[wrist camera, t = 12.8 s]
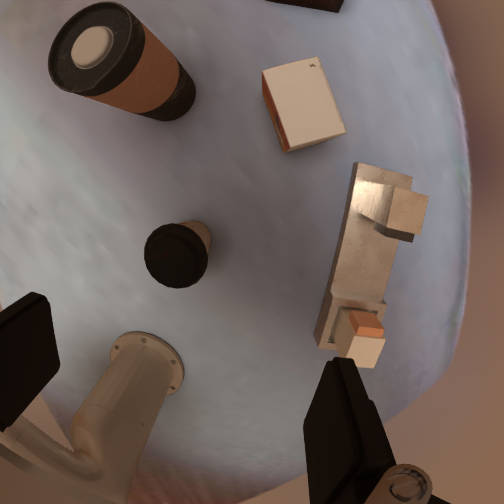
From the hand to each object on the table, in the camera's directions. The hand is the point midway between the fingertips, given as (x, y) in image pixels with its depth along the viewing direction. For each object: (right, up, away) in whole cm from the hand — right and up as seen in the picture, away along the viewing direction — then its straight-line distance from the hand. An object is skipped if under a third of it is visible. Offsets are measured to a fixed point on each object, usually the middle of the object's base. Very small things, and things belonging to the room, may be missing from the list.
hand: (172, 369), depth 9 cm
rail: (+17, +3, +30) cm, 34 cm away
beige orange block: (+15, -5, +30) cm, 34 cm away
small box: (+8, +20, +26) cm, 33 cm away
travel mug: (-8, +24, +26) cm, 36 cm away
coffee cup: (-5, +5, +30) cm, 31 cm away
